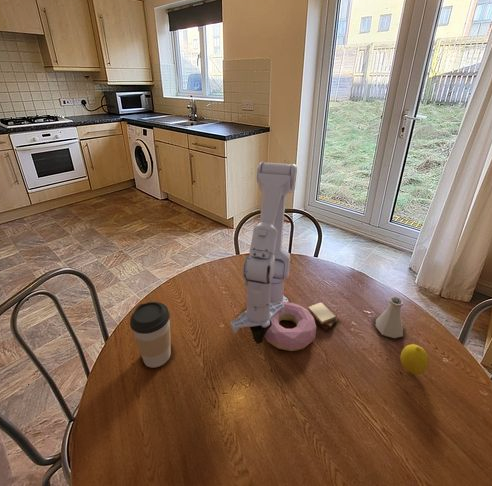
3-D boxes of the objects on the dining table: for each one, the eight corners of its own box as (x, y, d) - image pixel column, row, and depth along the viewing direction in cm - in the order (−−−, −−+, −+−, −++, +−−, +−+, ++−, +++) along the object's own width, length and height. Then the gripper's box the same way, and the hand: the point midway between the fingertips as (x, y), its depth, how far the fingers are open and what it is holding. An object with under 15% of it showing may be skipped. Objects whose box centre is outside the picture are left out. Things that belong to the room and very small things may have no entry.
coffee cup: (182, 347, 76) (176, 303, 70) (159, 377, 69) (150, 330, 63) (155, 336, 80) (147, 293, 74) (130, 363, 72) (119, 317, 66)
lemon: (420, 364, 71) (429, 341, 68) (425, 385, 67) (434, 360, 63) (395, 358, 73) (403, 334, 70) (398, 377, 68) (406, 353, 65)
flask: (397, 319, 85) (405, 292, 80) (407, 339, 78) (416, 311, 74) (371, 317, 85) (377, 290, 81) (379, 337, 79) (387, 309, 74)
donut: (249, 337, 79) (249, 323, 77) (275, 304, 91) (276, 291, 89) (302, 365, 71) (304, 351, 69) (324, 325, 83) (326, 312, 81)
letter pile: (302, 316, 86) (303, 310, 85) (317, 306, 90) (318, 300, 89) (325, 334, 80) (326, 327, 79) (340, 321, 84) (341, 315, 83)
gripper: (239, 322, 64) (240, 364, 70) (292, 299, 70) (289, 340, 76) (225, 302, 69) (227, 343, 75) (276, 283, 76) (274, 322, 81)
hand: (257, 340), depth 76 cm, fingers closed
